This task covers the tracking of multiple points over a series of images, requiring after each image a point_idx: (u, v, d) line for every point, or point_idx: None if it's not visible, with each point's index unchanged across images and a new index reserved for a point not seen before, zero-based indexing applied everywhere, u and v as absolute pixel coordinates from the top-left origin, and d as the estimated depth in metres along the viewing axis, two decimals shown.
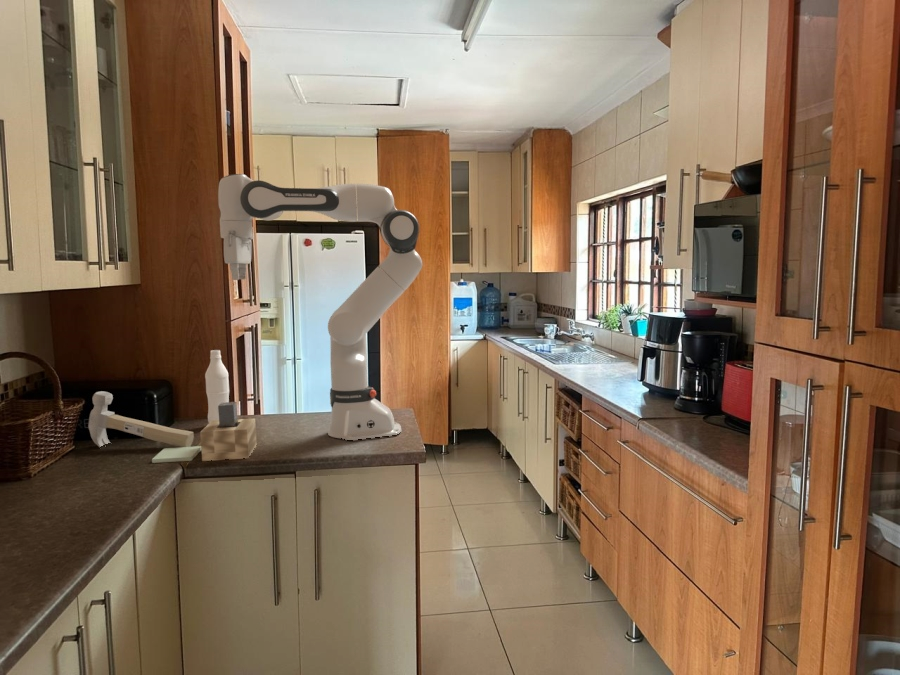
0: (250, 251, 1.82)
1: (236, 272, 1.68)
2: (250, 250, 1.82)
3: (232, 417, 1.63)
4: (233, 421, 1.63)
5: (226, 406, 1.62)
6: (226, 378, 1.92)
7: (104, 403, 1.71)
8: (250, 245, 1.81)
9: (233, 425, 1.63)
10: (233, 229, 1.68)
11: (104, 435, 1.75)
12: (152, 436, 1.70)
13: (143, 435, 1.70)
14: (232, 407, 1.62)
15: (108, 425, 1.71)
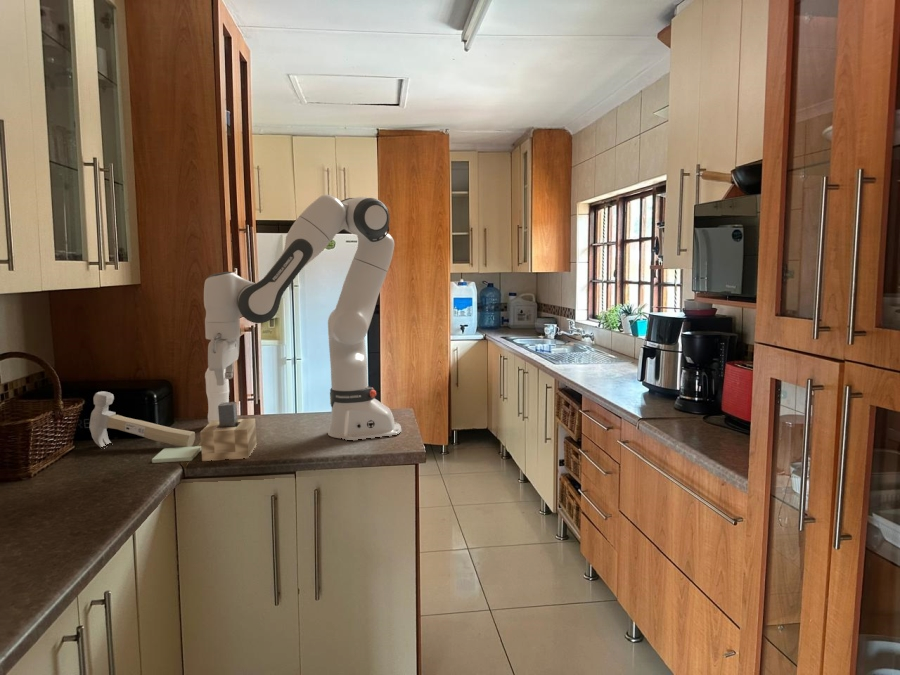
0: (238, 347, 1.71)
1: (221, 377, 1.57)
2: (238, 346, 1.71)
3: (232, 417, 1.63)
4: (233, 421, 1.63)
5: (226, 406, 1.62)
6: None
7: (105, 403, 1.70)
8: (238, 341, 1.70)
9: (233, 425, 1.63)
10: (219, 331, 1.57)
11: (105, 435, 1.75)
12: (153, 436, 1.70)
13: (144, 435, 1.70)
14: (232, 407, 1.62)
15: (109, 425, 1.71)
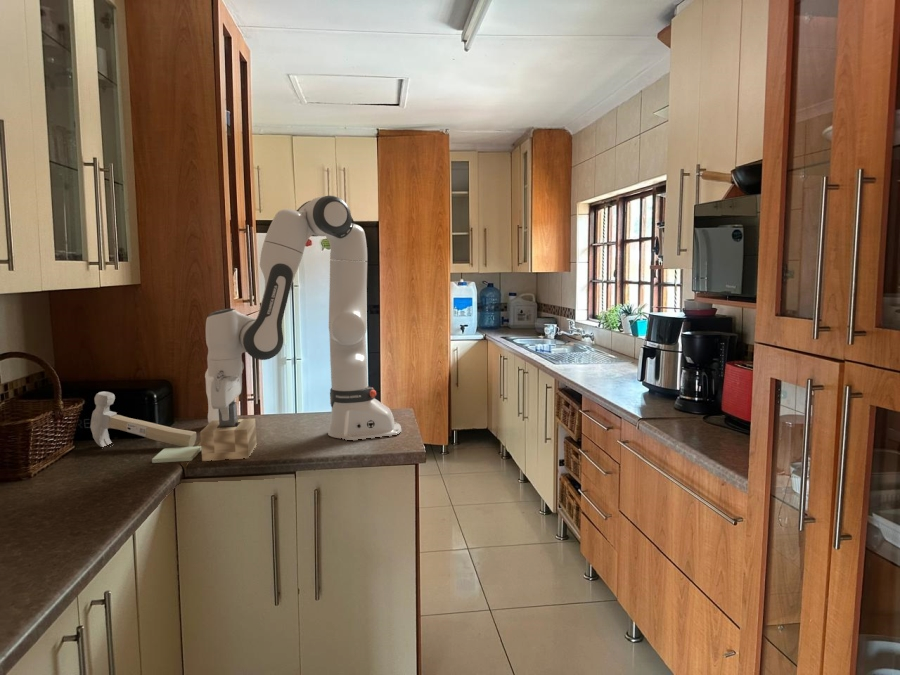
0: (240, 381, 1.72)
1: (226, 413, 1.61)
2: (240, 380, 1.72)
3: (232, 417, 1.63)
4: (233, 421, 1.63)
5: None
6: None
7: (106, 403, 1.70)
8: (240, 375, 1.71)
9: (233, 425, 1.63)
10: (221, 369, 1.58)
11: (106, 435, 1.74)
12: (155, 436, 1.70)
13: (146, 435, 1.70)
14: (232, 407, 1.62)
15: (110, 425, 1.71)
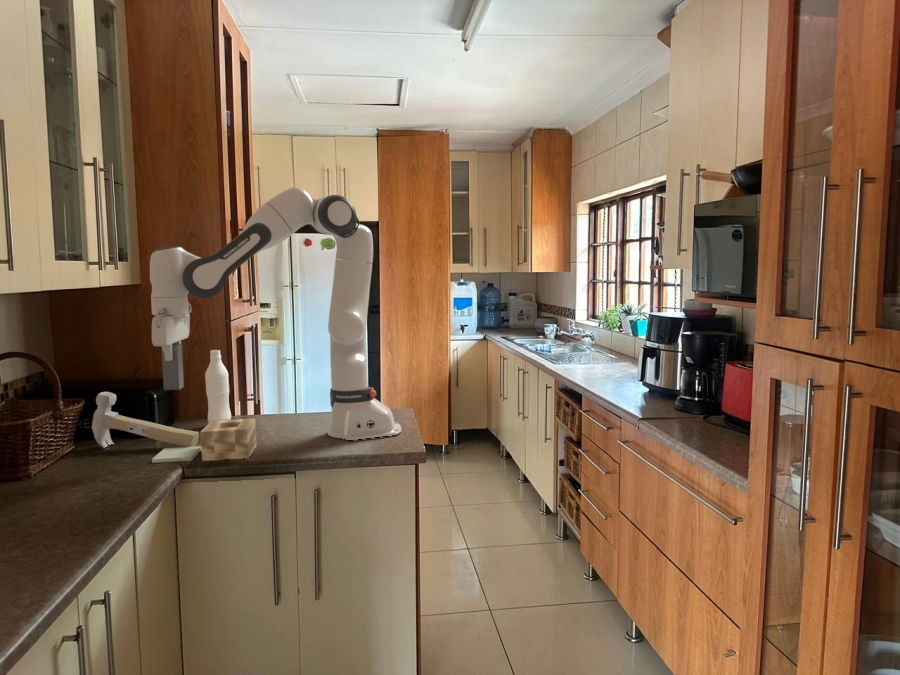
0: (188, 325, 1.68)
1: (169, 353, 1.57)
2: (188, 323, 1.68)
3: (176, 358, 1.59)
4: (177, 362, 1.59)
5: None
6: (226, 378, 1.92)
7: (108, 403, 1.70)
8: (188, 318, 1.67)
9: (177, 366, 1.59)
10: (164, 307, 1.55)
11: (107, 436, 1.74)
12: (157, 436, 1.69)
13: (148, 435, 1.70)
14: (176, 347, 1.58)
15: (112, 426, 1.71)
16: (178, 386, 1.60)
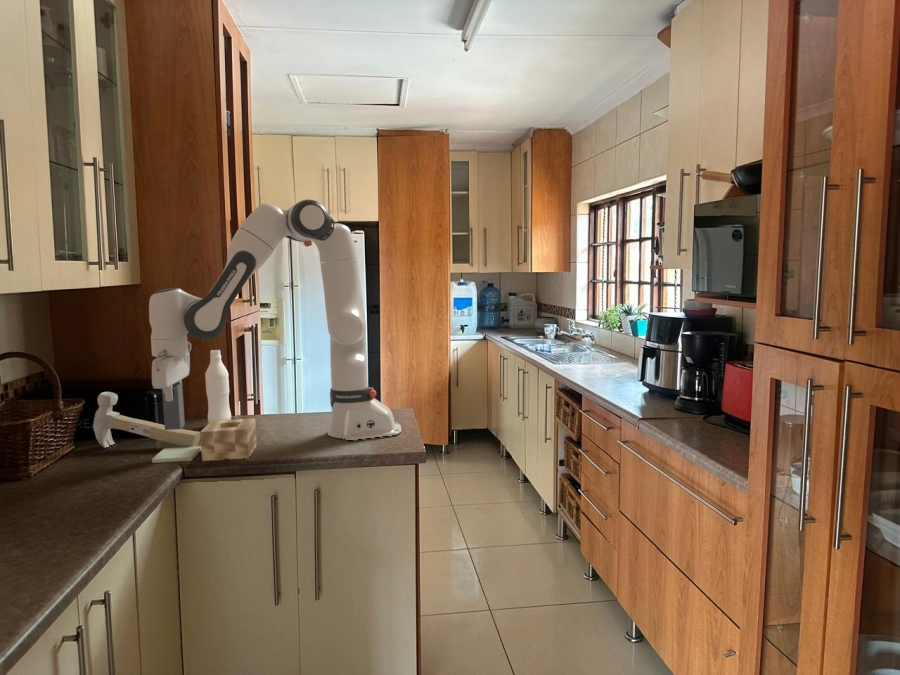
0: (188, 363, 1.69)
1: (170, 393, 1.58)
2: (188, 362, 1.69)
3: (176, 398, 1.60)
4: (177, 402, 1.60)
5: None
6: (226, 378, 1.92)
7: (109, 403, 1.70)
8: (188, 357, 1.69)
9: (177, 406, 1.60)
10: (164, 349, 1.56)
11: (109, 436, 1.74)
12: (158, 437, 1.69)
13: (149, 435, 1.70)
14: (176, 388, 1.60)
15: (113, 426, 1.71)
16: (179, 426, 1.61)
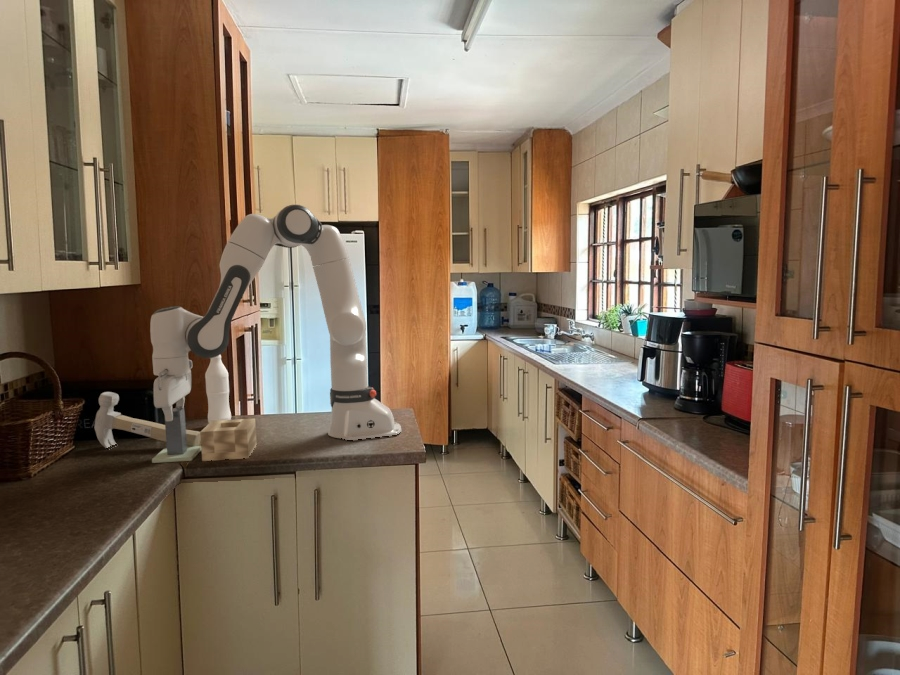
0: (189, 380, 1.70)
1: (169, 413, 1.57)
2: (189, 379, 1.70)
3: (178, 423, 1.61)
4: (180, 427, 1.61)
5: (172, 412, 1.60)
6: (226, 378, 1.92)
7: (110, 403, 1.70)
8: (189, 374, 1.69)
9: (180, 432, 1.61)
10: (166, 367, 1.56)
11: (110, 436, 1.74)
12: (160, 437, 1.69)
13: (151, 435, 1.70)
14: (178, 413, 1.60)
15: (115, 426, 1.70)
16: (182, 451, 1.62)
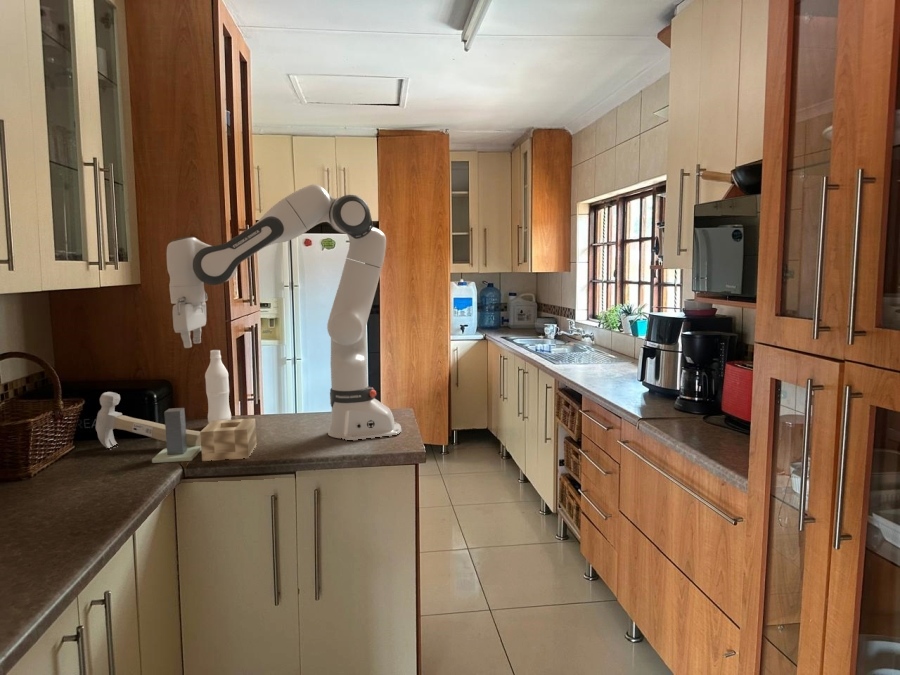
0: (205, 313, 1.75)
1: (188, 340, 1.61)
2: (205, 312, 1.75)
3: (179, 423, 1.61)
4: (180, 427, 1.61)
5: (172, 412, 1.60)
6: (226, 378, 1.92)
7: (111, 403, 1.69)
8: (204, 307, 1.74)
9: (180, 431, 1.61)
10: (183, 295, 1.61)
11: (111, 436, 1.74)
12: (161, 437, 1.69)
13: (152, 436, 1.70)
14: (178, 413, 1.60)
15: (116, 426, 1.70)
16: (182, 451, 1.62)
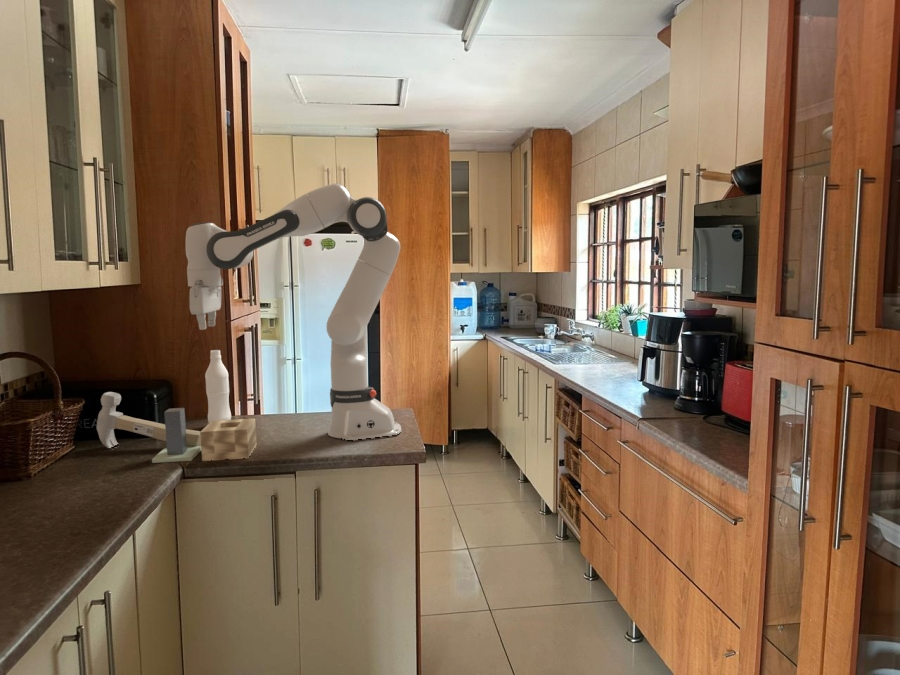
0: (220, 297, 1.80)
1: (203, 322, 1.67)
2: (220, 296, 1.80)
3: (179, 423, 1.61)
4: (180, 427, 1.61)
5: (172, 412, 1.60)
6: (226, 378, 1.92)
7: (112, 403, 1.69)
8: (219, 291, 1.79)
9: (180, 431, 1.61)
10: (200, 278, 1.67)
11: (112, 436, 1.73)
12: (162, 437, 1.69)
13: (153, 436, 1.70)
14: (178, 413, 1.60)
15: (117, 426, 1.70)
16: (182, 451, 1.62)
